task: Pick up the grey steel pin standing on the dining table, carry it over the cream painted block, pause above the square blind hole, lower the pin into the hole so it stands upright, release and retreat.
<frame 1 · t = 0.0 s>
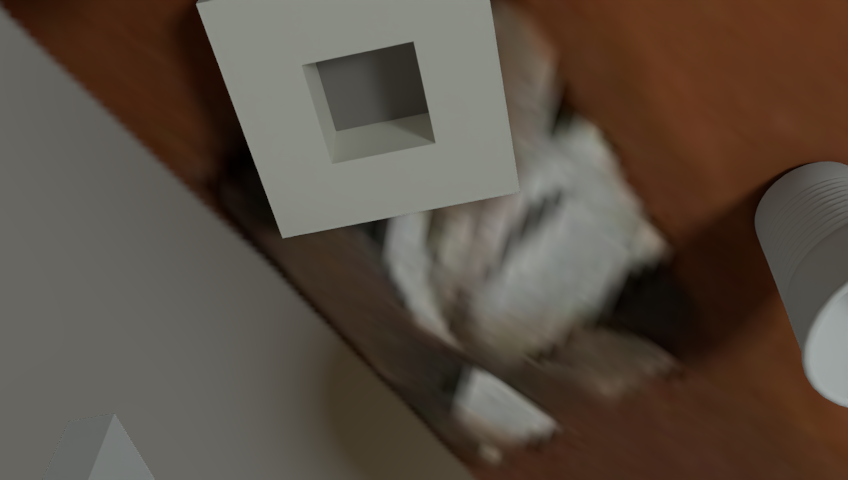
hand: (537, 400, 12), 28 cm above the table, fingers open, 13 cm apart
bore block: (372, 72, 39), on the table
cup: (805, 204, 44), on the table
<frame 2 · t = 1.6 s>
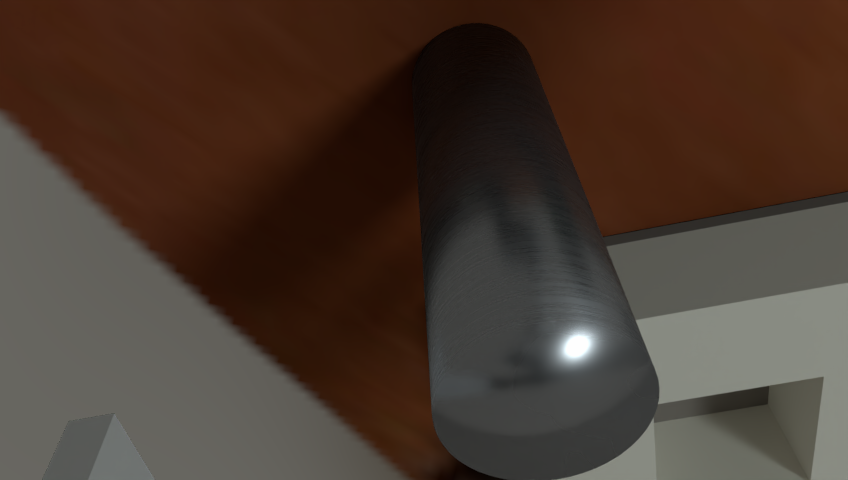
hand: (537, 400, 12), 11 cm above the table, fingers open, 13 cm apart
bore block: (694, 357, 28), on the table
pin: (473, 83, 22), on the table
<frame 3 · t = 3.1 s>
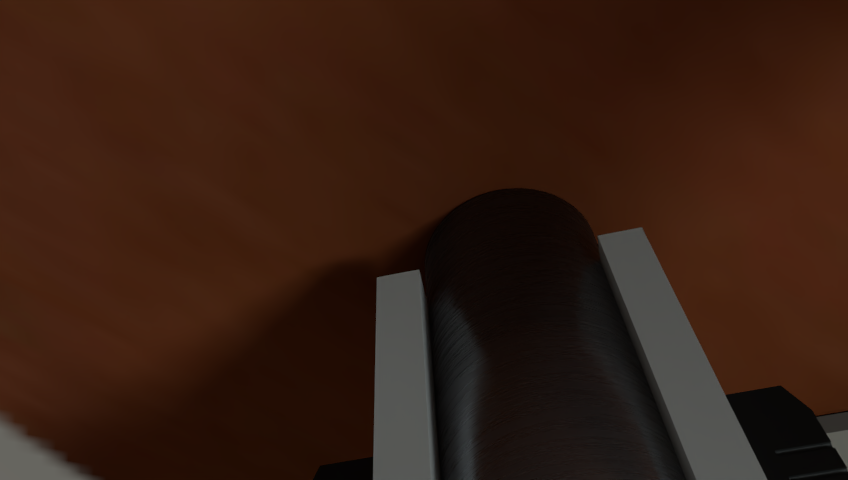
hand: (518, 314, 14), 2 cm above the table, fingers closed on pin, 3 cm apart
pin: (510, 263, 15), on the table, touching gripper
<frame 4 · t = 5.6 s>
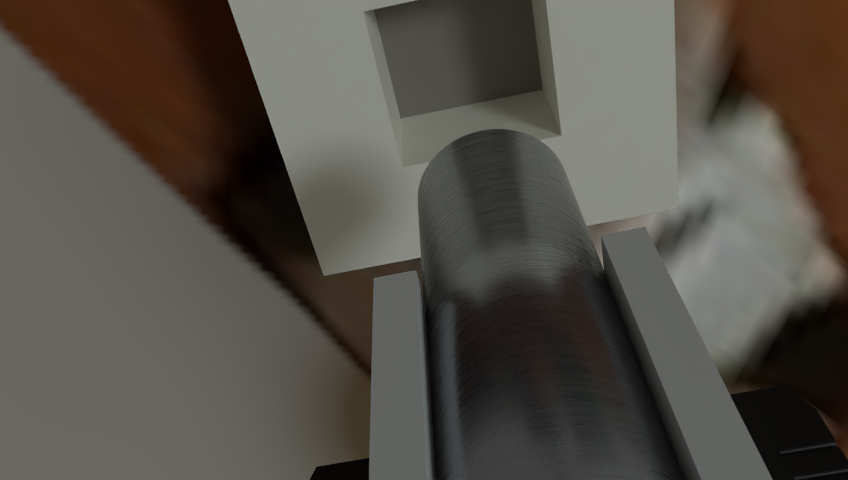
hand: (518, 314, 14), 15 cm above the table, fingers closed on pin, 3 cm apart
bore block: (457, 30, 26), on the table
pin: (492, 197, 18), point 10 cm above the table, touching gripper
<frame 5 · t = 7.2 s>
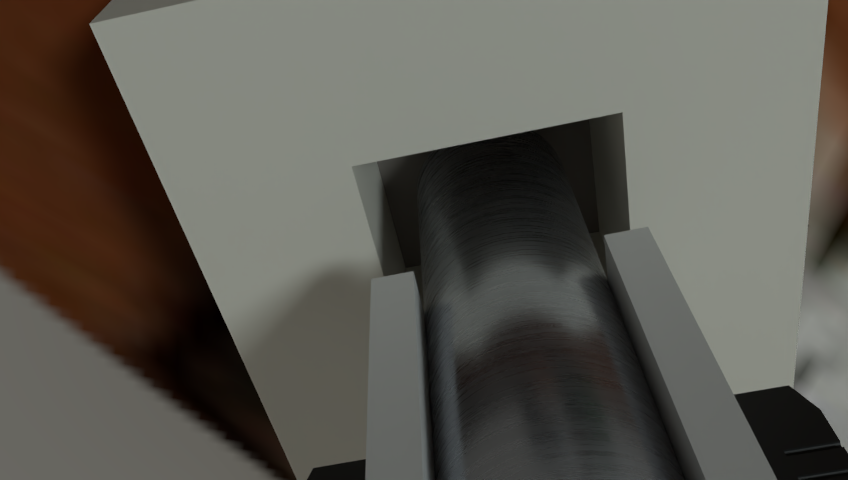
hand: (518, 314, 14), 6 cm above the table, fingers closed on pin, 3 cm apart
bore block: (484, 155, 19), on the table
pin: (490, 189, 18), point 1 cm above the table, touching gripper
when the fingers open (5 cm above the table, at t = 8.0 s): pin stays where it is, resting on bore block.
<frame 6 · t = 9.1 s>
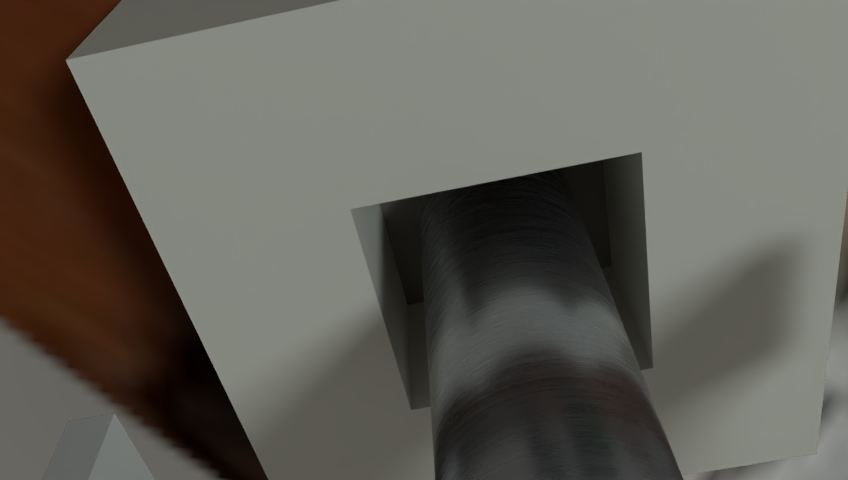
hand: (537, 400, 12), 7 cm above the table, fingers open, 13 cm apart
bore block: (490, 188, 18), on the table
pin: (493, 203, 18), resting on bore block
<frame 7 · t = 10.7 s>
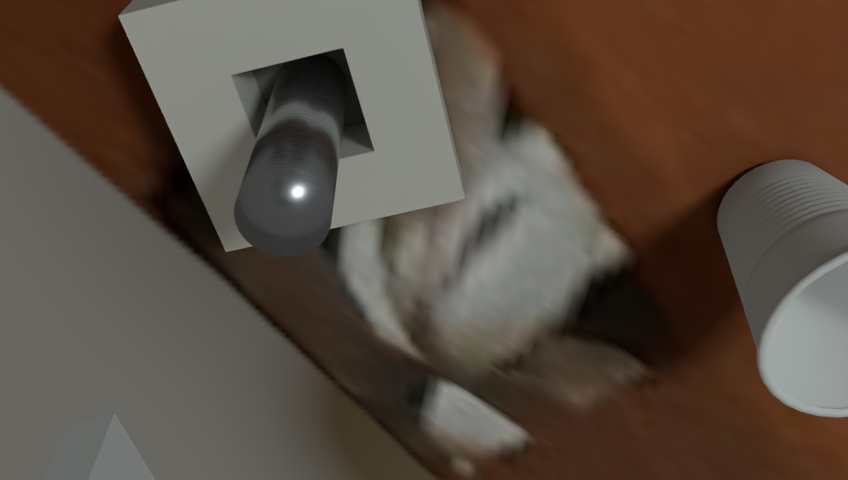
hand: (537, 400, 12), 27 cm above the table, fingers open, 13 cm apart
bore block: (312, 80, 38), on the table
pin: (312, 86, 37), point 1 cm above the table, touching bore block
cup: (769, 204, 43), on the table
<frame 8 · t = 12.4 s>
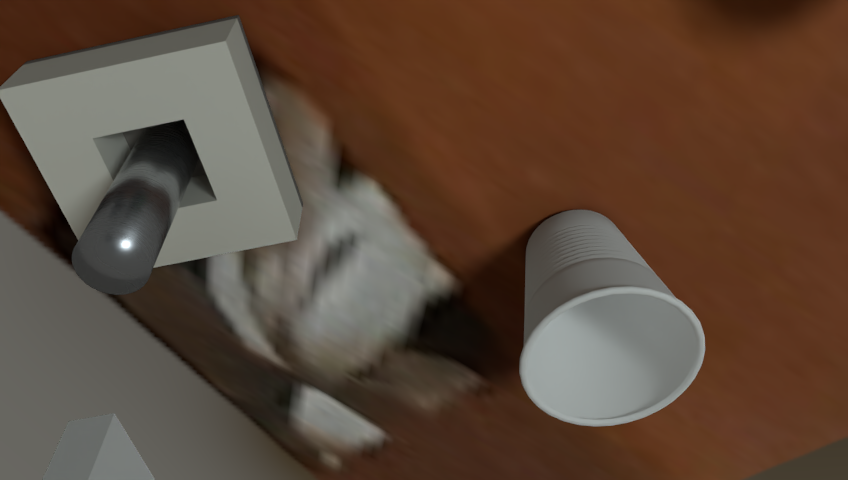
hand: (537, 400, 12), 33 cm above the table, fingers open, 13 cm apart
bore block: (173, 137, 45), on the table
pin: (172, 142, 45), point 1 cm above the table, touching bore block
cup: (571, 244, 51), on the table
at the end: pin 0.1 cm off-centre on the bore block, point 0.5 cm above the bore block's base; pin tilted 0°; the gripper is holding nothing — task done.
